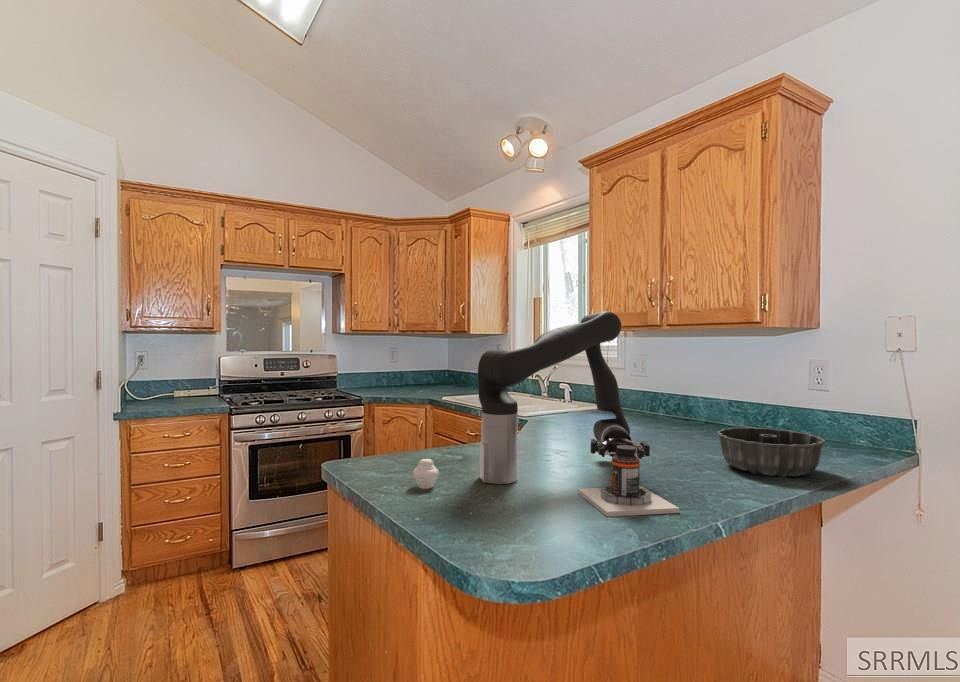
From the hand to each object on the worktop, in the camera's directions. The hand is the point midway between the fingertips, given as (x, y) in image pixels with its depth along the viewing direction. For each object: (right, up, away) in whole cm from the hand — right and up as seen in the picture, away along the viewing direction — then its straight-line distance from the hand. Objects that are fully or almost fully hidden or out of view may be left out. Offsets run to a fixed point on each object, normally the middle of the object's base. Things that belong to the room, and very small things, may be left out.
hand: (621, 453), depth 120 cm
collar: (-2, -9, -9) cm, 12 cm away
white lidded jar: (-47, -9, +2) cm, 48 cm away
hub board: (-2, -9, -9) cm, 12 cm away
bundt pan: (+48, -10, +22) cm, 54 cm away
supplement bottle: (-2, -8, -8) cm, 12 cm away
